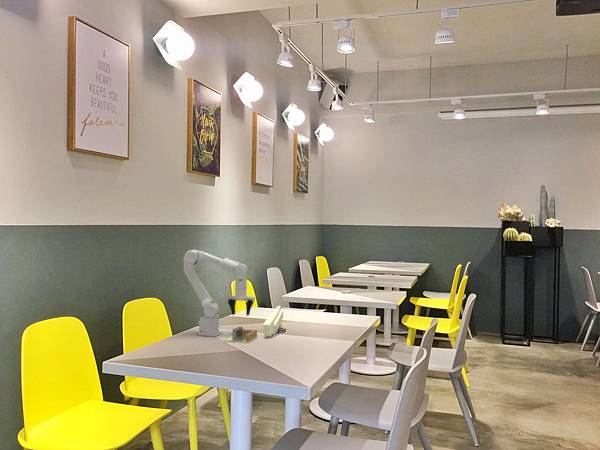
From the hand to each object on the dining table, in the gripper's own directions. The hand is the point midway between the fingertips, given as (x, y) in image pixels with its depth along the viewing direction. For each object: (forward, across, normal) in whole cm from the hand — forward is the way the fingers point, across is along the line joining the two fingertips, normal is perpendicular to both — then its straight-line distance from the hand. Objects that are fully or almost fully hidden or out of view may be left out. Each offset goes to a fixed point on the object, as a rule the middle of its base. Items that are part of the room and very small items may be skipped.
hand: (240, 315), depth 253 cm
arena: (+10, +4, -10) cm, 15 cm away
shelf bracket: (+10, +15, +9) cm, 20 cm away
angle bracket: (+9, +5, -12) cm, 16 cm away
